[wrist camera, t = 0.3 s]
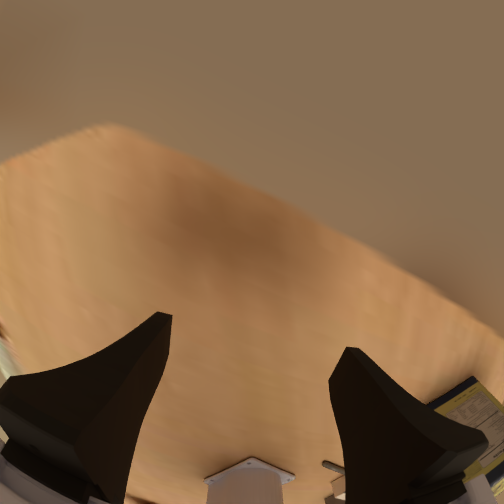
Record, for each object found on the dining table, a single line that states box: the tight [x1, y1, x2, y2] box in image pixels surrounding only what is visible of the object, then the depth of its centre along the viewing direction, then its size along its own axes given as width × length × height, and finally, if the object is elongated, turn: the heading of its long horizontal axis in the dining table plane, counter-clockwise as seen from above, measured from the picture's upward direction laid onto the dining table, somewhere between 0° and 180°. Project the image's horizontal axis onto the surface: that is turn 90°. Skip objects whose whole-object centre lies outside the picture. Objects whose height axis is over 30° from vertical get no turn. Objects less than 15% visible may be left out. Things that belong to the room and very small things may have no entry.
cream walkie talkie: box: [322, 462, 345, 500], centre depth 26 cm, size 5×15×3 cm, turn 46°
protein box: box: [426, 376, 504, 497], centre depth 19 cm, size 10×16×16 cm
